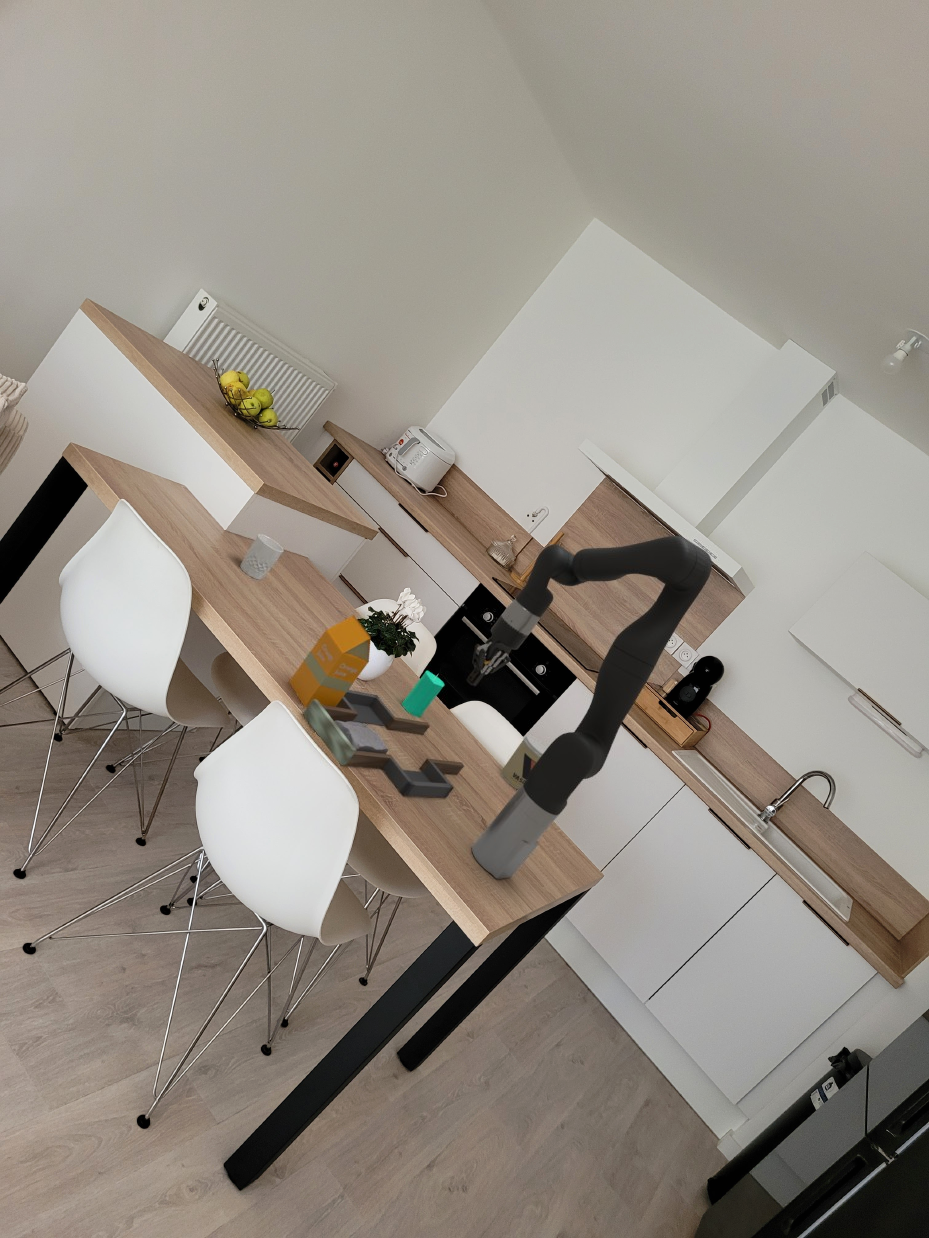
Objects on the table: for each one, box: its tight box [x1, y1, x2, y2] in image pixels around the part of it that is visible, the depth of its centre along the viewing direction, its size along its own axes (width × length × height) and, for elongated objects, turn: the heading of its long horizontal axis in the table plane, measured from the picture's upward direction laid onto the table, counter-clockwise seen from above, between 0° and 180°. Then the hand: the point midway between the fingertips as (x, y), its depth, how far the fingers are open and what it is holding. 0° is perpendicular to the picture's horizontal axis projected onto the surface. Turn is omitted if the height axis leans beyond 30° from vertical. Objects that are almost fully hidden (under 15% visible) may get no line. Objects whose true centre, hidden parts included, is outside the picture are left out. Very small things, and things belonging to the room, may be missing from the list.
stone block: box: [334, 720, 389, 754], centre depth 173 cm, size 12×5×10 cm
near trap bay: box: [381, 757, 455, 799], centre depth 175 cm, size 8×15×3 cm, turn 137°
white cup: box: [239, 533, 284, 581], centre depth 221 cm, size 8×8×10 cm
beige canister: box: [500, 734, 549, 791], centre depth 214 cm, size 9×9×12 cm
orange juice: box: [288, 614, 372, 708], centre depth 176 cm, size 8×9×20 cm
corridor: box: [302, 699, 465, 776], centre depth 181 cm, size 15×41×4 cm, turn 137°
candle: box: [401, 670, 445, 718], centre depth 210 cm, size 6×6×12 cm
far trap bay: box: [336, 689, 396, 727], centre depth 188 cm, size 8×15×3 cm, turn 137°
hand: (470, 683), depth 187 cm, fingers closed
